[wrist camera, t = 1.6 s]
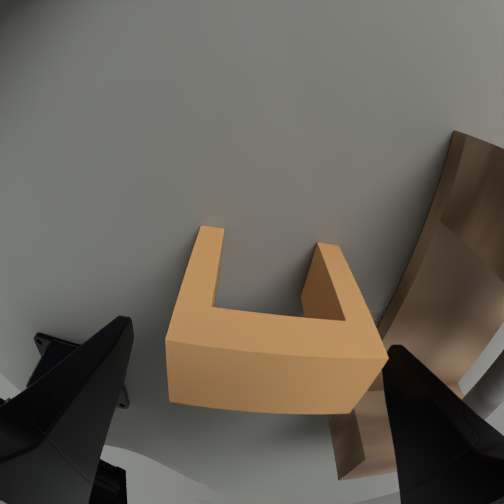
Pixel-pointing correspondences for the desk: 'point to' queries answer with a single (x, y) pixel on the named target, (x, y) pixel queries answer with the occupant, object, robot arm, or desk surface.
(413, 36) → the desk surface
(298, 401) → the tan u-shaped bracket
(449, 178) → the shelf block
